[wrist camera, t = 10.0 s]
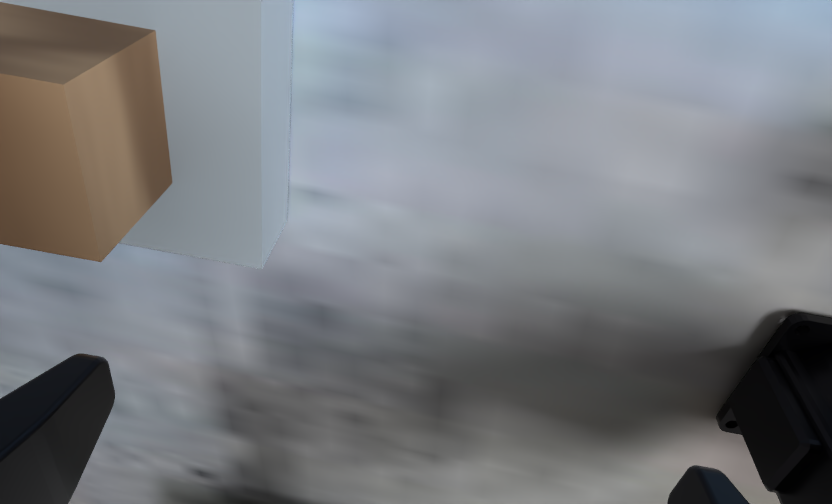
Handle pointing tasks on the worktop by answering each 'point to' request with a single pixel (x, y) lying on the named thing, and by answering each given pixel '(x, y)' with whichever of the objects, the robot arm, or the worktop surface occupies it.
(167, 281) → the worktop surface
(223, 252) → the base slab
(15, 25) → the walnut block
